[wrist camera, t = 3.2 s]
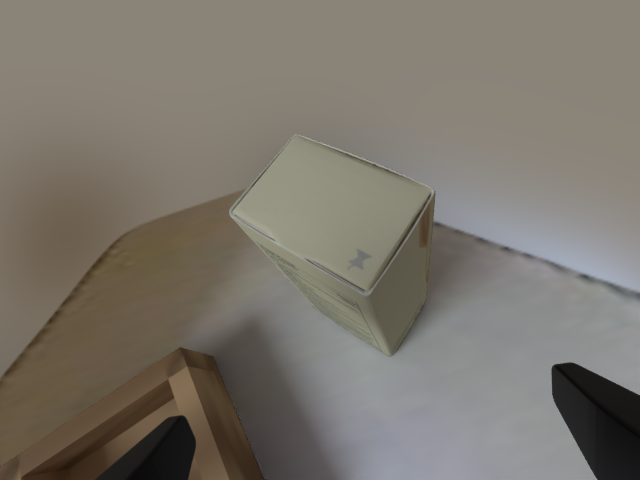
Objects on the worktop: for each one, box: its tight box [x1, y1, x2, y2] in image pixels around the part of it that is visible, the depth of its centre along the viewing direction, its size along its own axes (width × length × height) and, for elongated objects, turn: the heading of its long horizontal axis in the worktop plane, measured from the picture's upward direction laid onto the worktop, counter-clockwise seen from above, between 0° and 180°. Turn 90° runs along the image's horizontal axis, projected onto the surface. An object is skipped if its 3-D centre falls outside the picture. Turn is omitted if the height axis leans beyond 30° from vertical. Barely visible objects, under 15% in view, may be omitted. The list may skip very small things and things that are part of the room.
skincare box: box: [229, 134, 435, 357], centre depth 17 cm, size 6×4×12 cm
